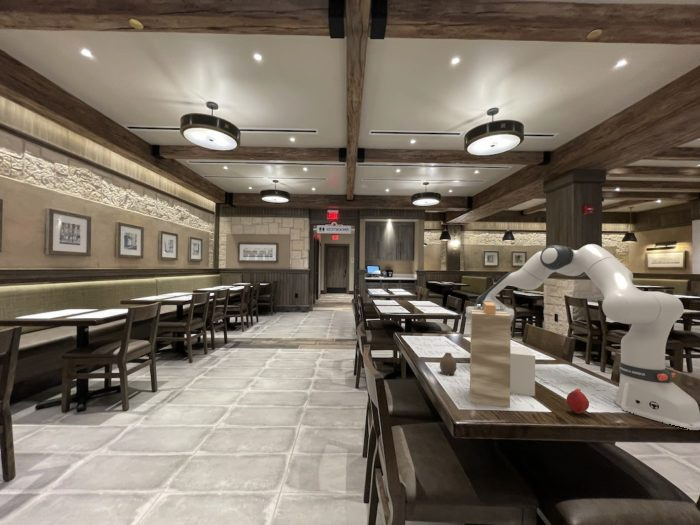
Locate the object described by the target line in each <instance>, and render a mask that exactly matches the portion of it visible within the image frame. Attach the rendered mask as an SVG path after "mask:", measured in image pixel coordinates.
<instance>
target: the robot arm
mask: <svg viewBox="0 0 700 525" xmlns="http://www.w3.org/2000/svg"><path fill="white" fill-rule="evenodd" d="M553 273H557V274H560V275H562V276H563V275H564V276H568V277H571V278H580V277H581V278H582V277H585V276H588V278H589V279H590V280H591V281H592V283H594V284H595V286H596V287H597V288H598V289H599V290H600V292H601V293H602V295H603V300H602V305H601V306H602V311H603V313H604V315H605V317H607V318H608V319H609V320H610V321H613V322H616V323H620V324H625V325H631V326H630V329H629V330H628V332H626V334H625V335H624V336H623V337H622V338H621V341H620V361H619V362H618V375H619V383H618V384H619V385H618V389H617V393H616V397H615V399H614V403H615V404H616V405H617V406H618V407H620V409H621V410H622V411H623V410H624V411H623V412H626V411H628V412H627V413H629V412H631V413H630V414H633V413H634V414H633V415H636V416H640V417H643V418H647V419H649V420H653V421H657V422H659V423H662V422H663V424H666V425H669V424H671V425H670V426H672V425H675V426H680V427H684V428H687V429H686V430H688V429H689V431H699V430H700V407H699V404H698V401H696V400H695V399H694V398H693V397H692V396H690V395H689V394H688V393H687V392H685V390H683V389H682V388H680V387H679V386H678V385H677V384H676V383H674V382H673V378H674V377H675V376H676V372H670V371H669V370H668V369H667V368H666V348H667V341H668V337H669V336H670V332H671V329H672V327H673V326H674V324H675V323H676V322H677V321H678V320H679V319H680V318H681V317H682V316H683V314H684V310H685V309H684V308H685V307H684V305H683V302H682V300H680V299H679V297H677V296H676V295H672V294H670V293H666V292H662V291H646V290H645V291H644V290H641V289H639V288H637V287H636V286H635V284H634V283H633V280H634V274H633V272H632V271H631V270H630V269H629V268H627V266H625V265H624V264H623V263H622V262H621V261H620V260H619V259H618V258H617V257H616V256H615V255H613V254H612V253H611V252H610V251H608V250H607V249H605V248H603V247H601V246H600V245H598V244H595V243H590V244H589V243H588V244H586V245H583V246H582V247H581V248H579V249H576V250H575V249H572V247H570V246H569V247H568V246H564V245H558V244H550V245H548V246H546V247H545V248H544V249H543V250H541V251H537V252H536V253H535V254H533V255H532V256H531V257H530V258H529V259H528V260H527V261H526V262H525V263H524V265H522V267H521V268H520V269H517V270H516V271H509V272H507V273H506V274H504V275H503V276H502V277H501V278H499V279H498V280H497V281H496V282H495V283H494V284H492V285H491V286H490V287H489V288H488V289H487V290H486V291H484V292H483V293H482V294H480V295H479V296H478V297H477V298H476V300H475V306H466V307H465V314H464V317H465V318H467V319H468V320H471V310H483V308H482V301H491V302H492V303H493V304H494V305H495V306H496V311H502V312H507V313H508V314H509V315H510V316H511V322H513V320H514V318H515V310H514V309H513V308H509V307H507V306H506V305H505V304H504V303H503V302H501V301H499V299H498V298H496V295H498V294H499V293H500V292H502V291H503V289H505V288H506V287H507V286H511V287H515V288H518V289H522V290H525V291H532V290H536V289H538V288H540V286H542V285H543V284H544V282H545V281H546V280H547V279H548V277H549V276H551V274H553ZM675 426H674V427H675Z"/></svg>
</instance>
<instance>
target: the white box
mask: <svg viewBox="0 0 700 525" xmlns="http://www.w3.org/2000/svg"><path fill="white" fill-rule="evenodd" d="M510 394H513V395H514V394H515V395H521V396H529V397H536V355H535V354H534V353H533V351H531V350H530V349H529V347H521V346H520V347H519V346H511V345H510Z"/></svg>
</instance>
